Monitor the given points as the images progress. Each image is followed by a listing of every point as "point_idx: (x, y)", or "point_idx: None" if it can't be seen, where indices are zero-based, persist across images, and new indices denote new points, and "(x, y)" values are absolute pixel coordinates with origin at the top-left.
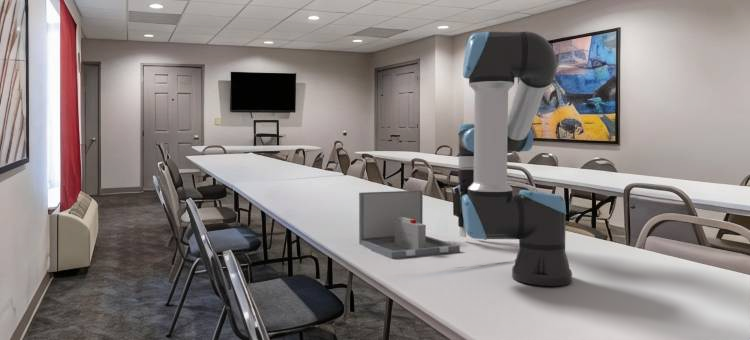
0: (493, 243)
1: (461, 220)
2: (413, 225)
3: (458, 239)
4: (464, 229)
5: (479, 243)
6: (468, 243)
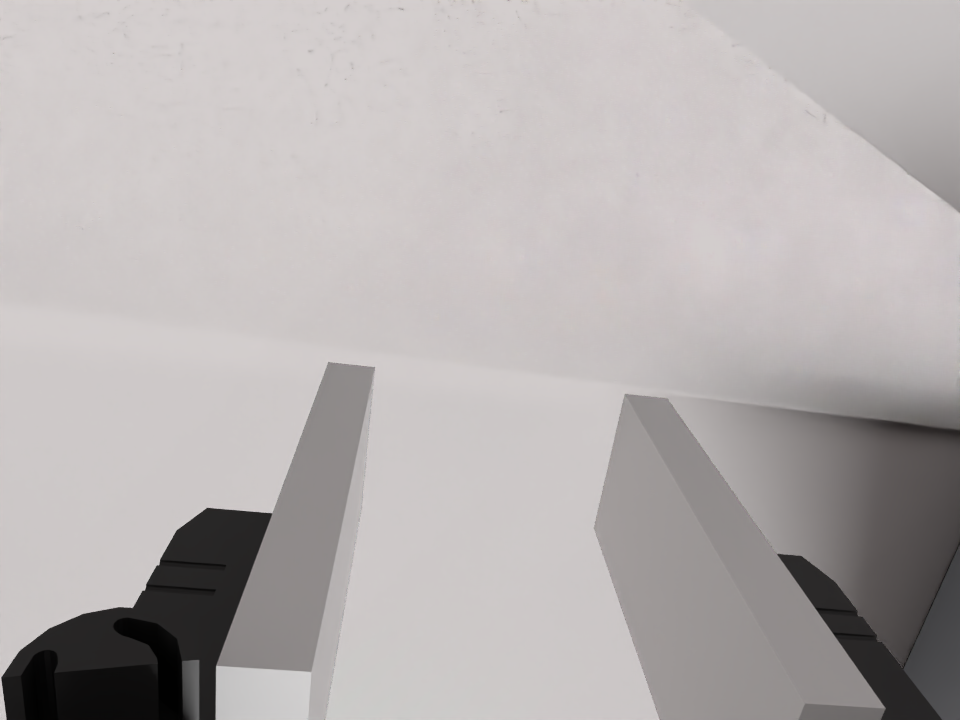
0: (84, 153)
1: (898, 691)
2: None
3: (376, 689)
4: (720, 480)
5: (327, 295)
6: (490, 391)
